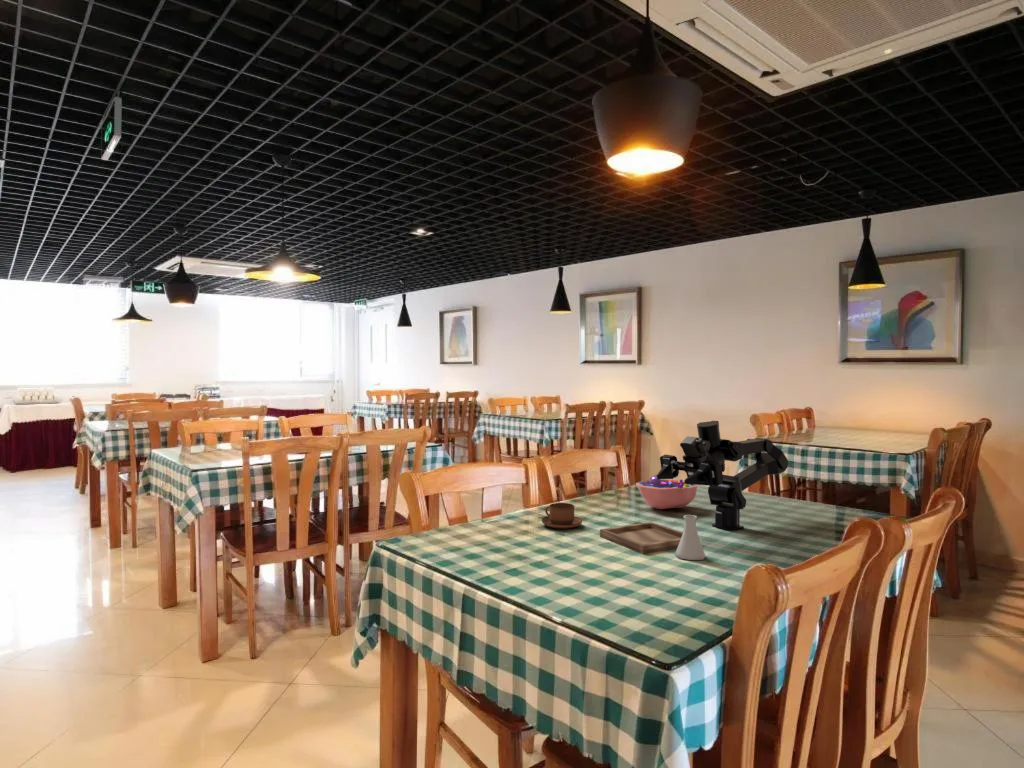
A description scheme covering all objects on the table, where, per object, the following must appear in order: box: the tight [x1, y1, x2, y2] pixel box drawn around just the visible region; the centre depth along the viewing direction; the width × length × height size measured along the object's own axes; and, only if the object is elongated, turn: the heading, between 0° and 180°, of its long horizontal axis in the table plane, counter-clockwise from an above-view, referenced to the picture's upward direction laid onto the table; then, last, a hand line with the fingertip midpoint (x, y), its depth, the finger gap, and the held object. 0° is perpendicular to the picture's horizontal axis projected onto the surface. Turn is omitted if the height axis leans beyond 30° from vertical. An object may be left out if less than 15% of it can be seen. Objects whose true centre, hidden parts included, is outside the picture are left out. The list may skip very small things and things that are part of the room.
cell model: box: [635, 474, 698, 510], centre depth 200 cm, size 17×20×11 cm
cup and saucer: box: [541, 502, 583, 530], centre depth 178 cm, size 12×12×6 cm
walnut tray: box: [599, 521, 683, 555], centre depth 162 cm, size 18×18×2 cm
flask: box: [674, 514, 706, 561], centre depth 148 cm, size 7×7×10 cm
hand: (670, 479), depth 161 cm, fingers open, 9 cm apart
